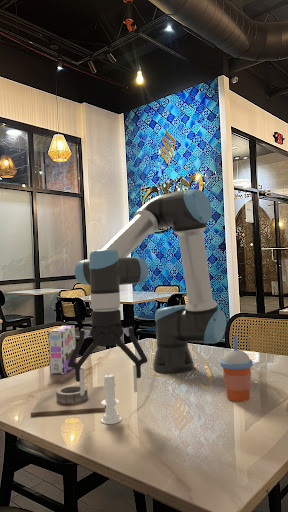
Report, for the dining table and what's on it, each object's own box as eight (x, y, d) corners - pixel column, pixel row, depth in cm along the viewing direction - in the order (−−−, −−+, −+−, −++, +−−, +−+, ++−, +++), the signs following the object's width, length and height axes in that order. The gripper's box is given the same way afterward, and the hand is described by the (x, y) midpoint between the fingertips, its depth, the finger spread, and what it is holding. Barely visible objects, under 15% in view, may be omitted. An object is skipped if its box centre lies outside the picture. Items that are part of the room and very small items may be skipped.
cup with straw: (236, 406, 112) (232, 339, 113) (215, 397, 120) (212, 335, 121) (261, 399, 116) (258, 335, 117) (240, 391, 125) (236, 331, 125)
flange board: (107, 389, 133) (106, 378, 133) (104, 411, 113) (104, 398, 113) (44, 393, 132) (44, 382, 132) (30, 416, 112) (30, 403, 112)
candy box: (64, 374, 154) (61, 330, 154) (49, 374, 155) (47, 330, 155) (77, 365, 168) (75, 324, 168) (63, 365, 169) (61, 325, 169)
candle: (97, 423, 105) (94, 375, 105) (106, 415, 110) (104, 370, 110) (116, 425, 103) (114, 376, 103) (124, 417, 108) (122, 371, 108)
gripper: (152, 305, 111) (156, 385, 111) (59, 310, 110) (62, 390, 109) (155, 308, 104) (158, 393, 103) (54, 313, 103) (57, 399, 102)
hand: (109, 392), depth 106 cm, fingers open, 13 cm apart
